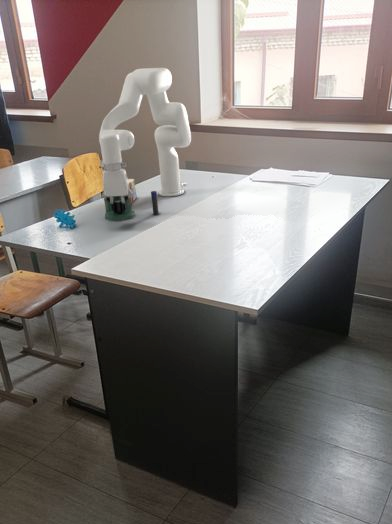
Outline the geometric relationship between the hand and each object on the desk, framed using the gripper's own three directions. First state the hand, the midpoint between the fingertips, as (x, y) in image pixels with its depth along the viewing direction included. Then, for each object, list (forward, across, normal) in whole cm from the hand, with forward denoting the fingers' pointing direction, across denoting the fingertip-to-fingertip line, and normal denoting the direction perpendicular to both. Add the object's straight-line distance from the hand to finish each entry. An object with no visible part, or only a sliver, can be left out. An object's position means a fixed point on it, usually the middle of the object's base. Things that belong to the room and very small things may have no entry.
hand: (119, 212), depth 212 cm
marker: (+6, -14, -15) cm, 21 cm away
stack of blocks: (+6, +4, -33) cm, 34 cm away
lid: (+2, 0, 0) cm, 2 cm away
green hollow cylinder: (+6, +3, -14) cm, 16 cm away
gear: (+6, +24, -3) cm, 25 cm away
